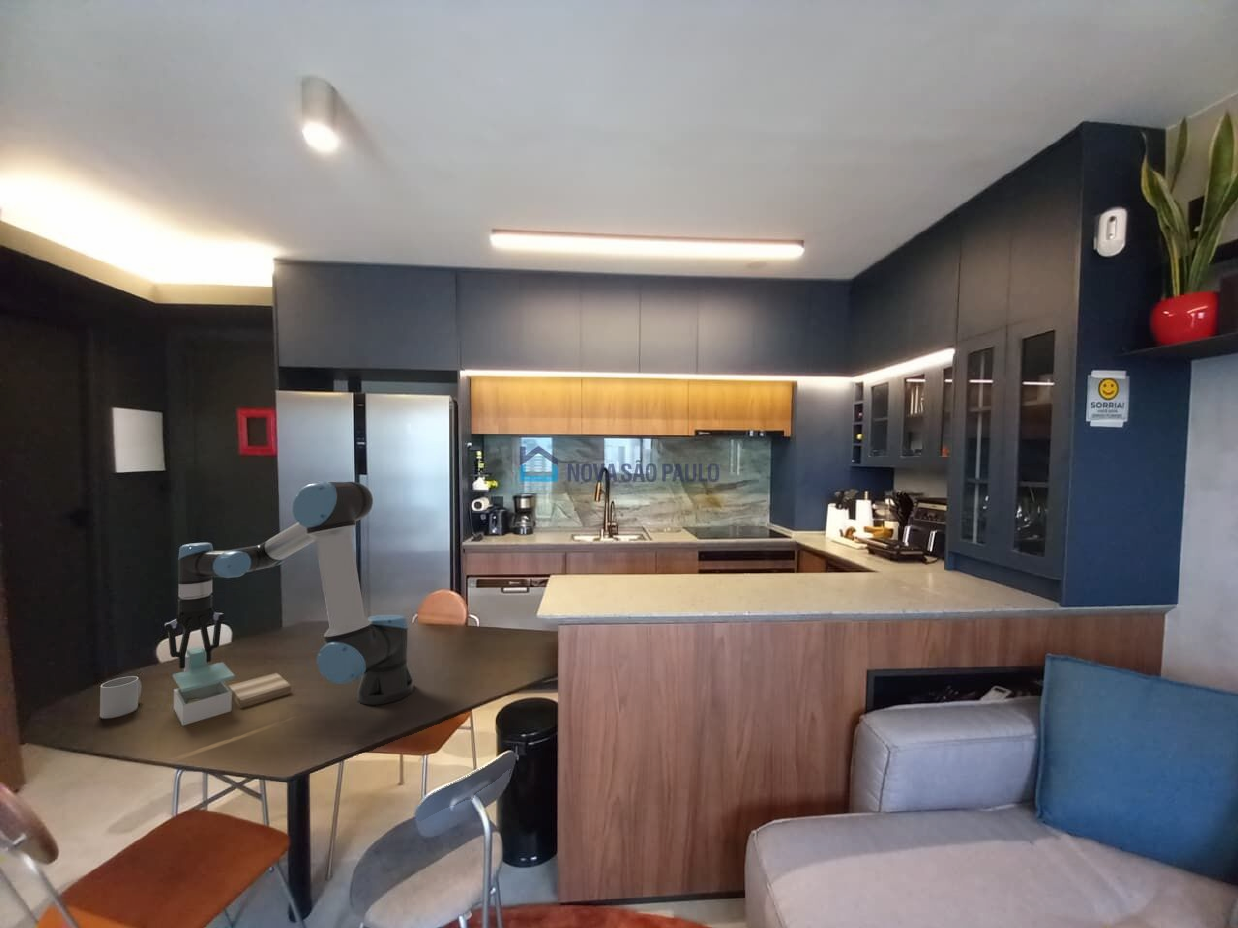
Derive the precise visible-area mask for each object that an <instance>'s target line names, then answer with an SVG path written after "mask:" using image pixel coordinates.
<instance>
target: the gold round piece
mask: <svg viewBox="0 0 1238 928" xmlns="http://www.w3.org/2000/svg"><path fill="white" fill-rule="evenodd" d="M198 700H200V697H194V698H191V699H188V700H187V703H190V702H194V701H198Z"/></svg>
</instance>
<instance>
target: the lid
mask: <svg viewBox="0 0 1238 928" xmlns="http://www.w3.org/2000/svg"><path fill="white" fill-rule="evenodd" d="M186 655H188V656H189V670H187V671H184V670H183V671H180V672H179V671H178V672H175V673H173V674H172V678H173V680H174V681H175V682H176V685H177V686H178V688H180V690H181V691H182V692H185V691H190V690H194V689H198V688H201V687H205V686H209V685H213V684H216V683H220V682H224V683H225V682H227V681H230V680H233V679H235V678H236V676H235V674H234V673H233V671H232V670H230V669H229V667H228V666H227V665H226V664H225V663H224V661H221V662H217V663H212V664H209V665H207V663H206V651H205V649H204V647H202V646H201V645H200V646H196V647H192V648H187V651H186Z"/></svg>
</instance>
